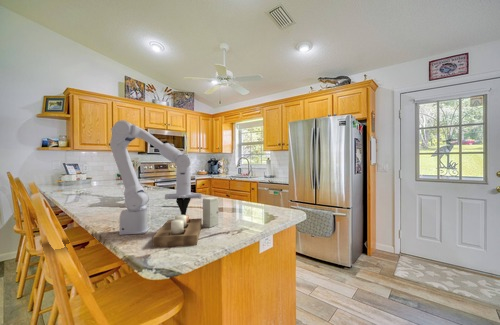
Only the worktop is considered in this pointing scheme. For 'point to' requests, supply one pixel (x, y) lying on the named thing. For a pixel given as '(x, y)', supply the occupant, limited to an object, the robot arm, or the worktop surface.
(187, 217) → the rust plug
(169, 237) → the board
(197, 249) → the worktop surface
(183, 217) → the cream ball
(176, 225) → the white rounded cylinder
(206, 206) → the skincare box
